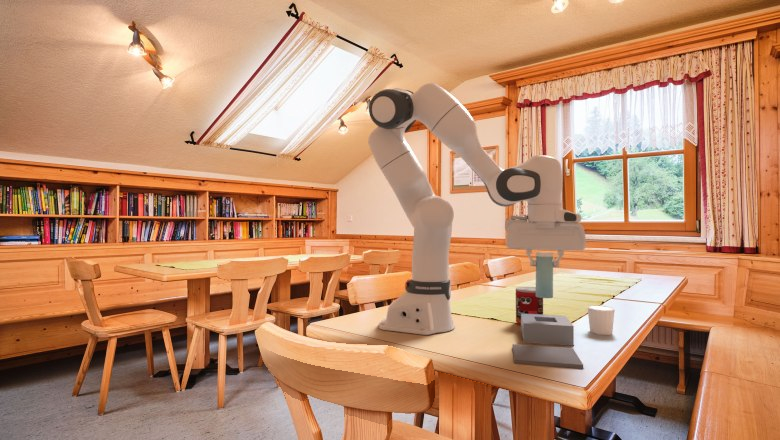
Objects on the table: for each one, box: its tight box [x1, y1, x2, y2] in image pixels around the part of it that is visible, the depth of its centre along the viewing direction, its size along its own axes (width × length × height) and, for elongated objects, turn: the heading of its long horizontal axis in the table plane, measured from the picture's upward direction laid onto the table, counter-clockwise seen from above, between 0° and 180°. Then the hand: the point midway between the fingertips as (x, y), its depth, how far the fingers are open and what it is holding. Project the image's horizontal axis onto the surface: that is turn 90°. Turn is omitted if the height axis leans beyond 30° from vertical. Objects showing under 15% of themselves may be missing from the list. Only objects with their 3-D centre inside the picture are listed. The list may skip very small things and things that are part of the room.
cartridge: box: [535, 251, 554, 299], centre depth 111 cm, size 4×4×12 cm
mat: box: [512, 343, 584, 370], centre depth 95 cm, size 14×12×1 cm
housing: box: [520, 314, 575, 347], centre depth 111 cm, size 12×12×5 cm
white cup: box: [587, 305, 616, 336], centre depth 117 cm, size 7×7×7 cm
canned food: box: [515, 286, 544, 326], centre depth 126 cm, size 8×8×11 cm
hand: (544, 266), depth 111 cm, fingers closed on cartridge, 4 cm apart
